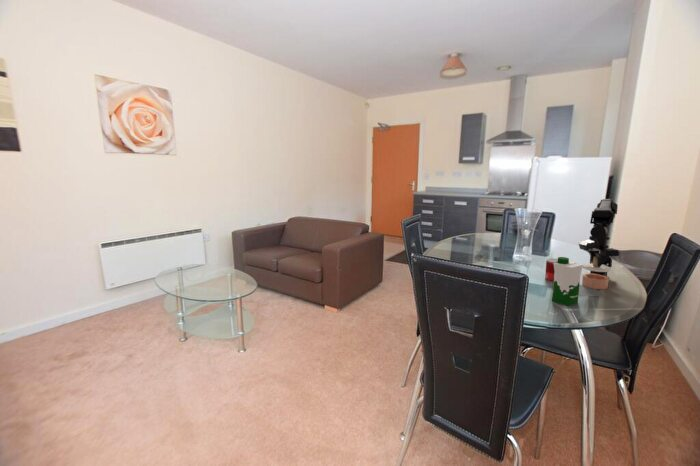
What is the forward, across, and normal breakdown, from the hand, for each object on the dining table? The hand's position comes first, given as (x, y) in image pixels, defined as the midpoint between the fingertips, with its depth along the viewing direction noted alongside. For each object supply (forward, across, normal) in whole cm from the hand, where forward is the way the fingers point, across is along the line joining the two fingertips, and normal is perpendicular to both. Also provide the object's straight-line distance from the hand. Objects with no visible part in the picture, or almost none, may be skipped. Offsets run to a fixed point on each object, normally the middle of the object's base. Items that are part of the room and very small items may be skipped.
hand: (596, 265), depth 152 cm
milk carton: (+11, +19, -26) cm, 34 cm away
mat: (+11, +6, -10) cm, 16 cm away
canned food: (+11, -10, -14) cm, 20 cm away
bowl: (+11, 0, 0) cm, 11 cm away
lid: (+2, 0, 0) cm, 2 cm away
